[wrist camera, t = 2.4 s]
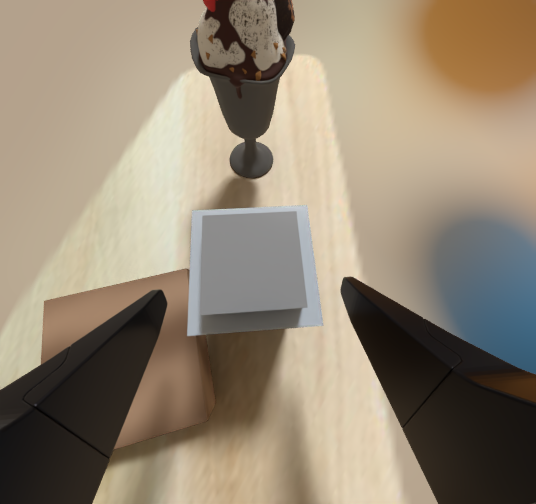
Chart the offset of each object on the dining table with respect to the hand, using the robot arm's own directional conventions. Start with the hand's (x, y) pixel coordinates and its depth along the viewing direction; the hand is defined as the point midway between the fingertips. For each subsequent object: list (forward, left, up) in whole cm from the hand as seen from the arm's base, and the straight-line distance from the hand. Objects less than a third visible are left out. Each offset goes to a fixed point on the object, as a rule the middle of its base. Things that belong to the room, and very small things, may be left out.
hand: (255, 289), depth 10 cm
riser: (-2, +11, -9) cm, 14 cm away
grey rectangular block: (+1, 0, -9) cm, 9 cm away
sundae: (+15, -3, -9) cm, 18 cm away
